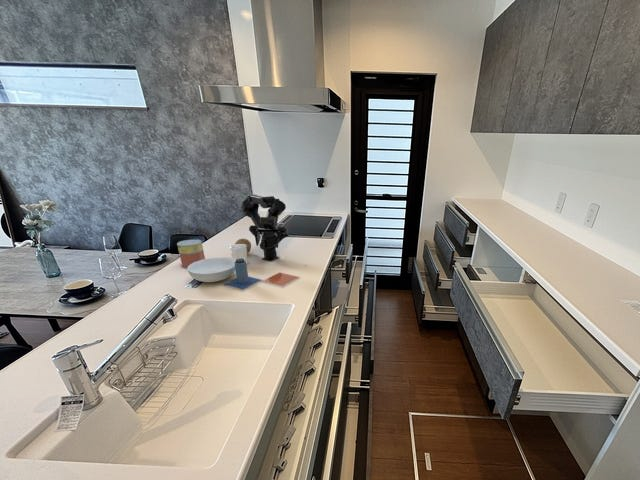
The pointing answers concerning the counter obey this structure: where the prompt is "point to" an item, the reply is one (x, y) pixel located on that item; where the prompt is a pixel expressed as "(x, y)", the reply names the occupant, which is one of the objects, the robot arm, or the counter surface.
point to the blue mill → (241, 271)
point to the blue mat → (242, 286)
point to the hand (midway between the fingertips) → (266, 246)
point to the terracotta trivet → (280, 279)
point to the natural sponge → (246, 242)
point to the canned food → (190, 251)
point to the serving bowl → (212, 269)
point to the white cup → (239, 252)
